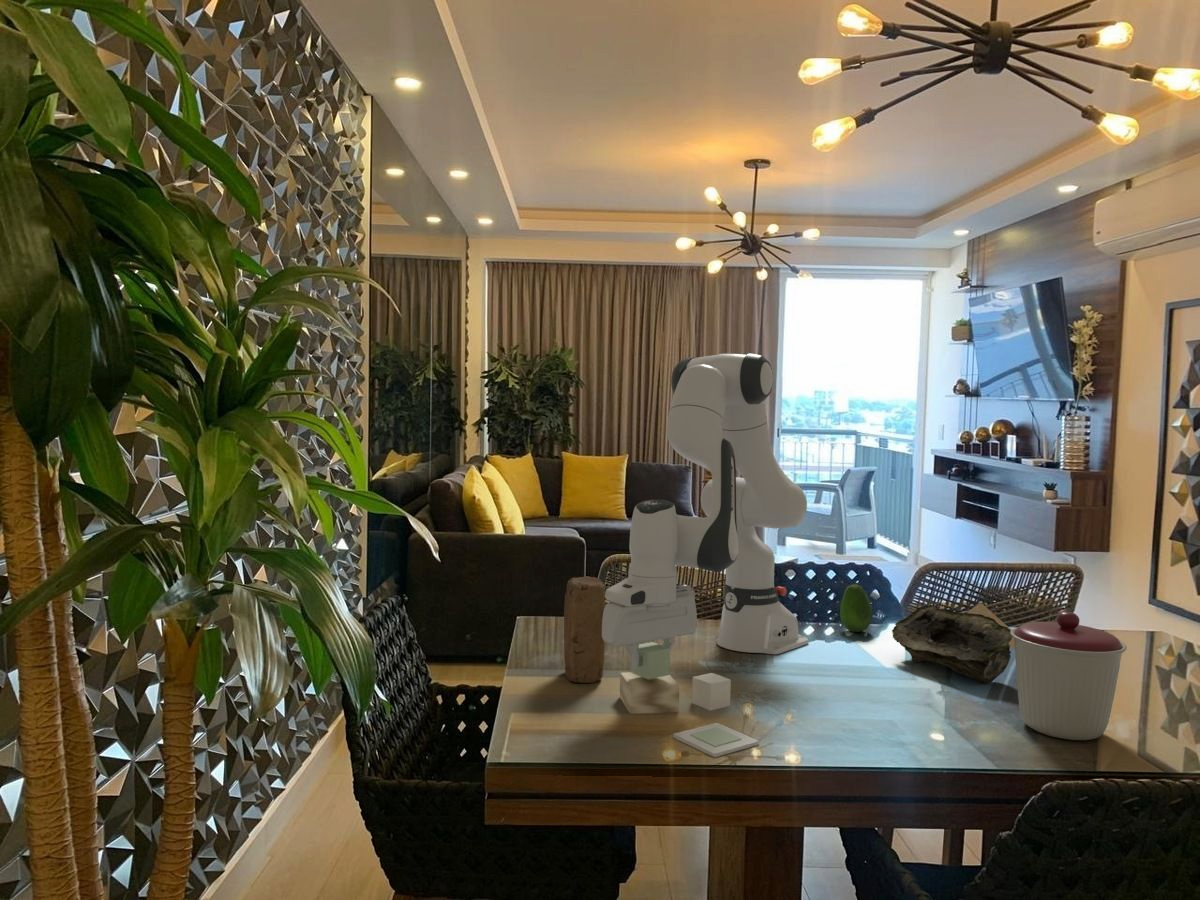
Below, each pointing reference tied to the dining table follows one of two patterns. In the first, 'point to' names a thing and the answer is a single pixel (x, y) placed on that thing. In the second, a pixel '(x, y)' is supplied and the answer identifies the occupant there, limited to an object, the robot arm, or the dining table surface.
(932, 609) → the hollow geode rock
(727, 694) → the offwhite cube
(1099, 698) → the canister
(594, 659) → the block
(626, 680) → the base block
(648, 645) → the sage cube
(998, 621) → the model pyramid
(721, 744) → the card
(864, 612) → the avocado
